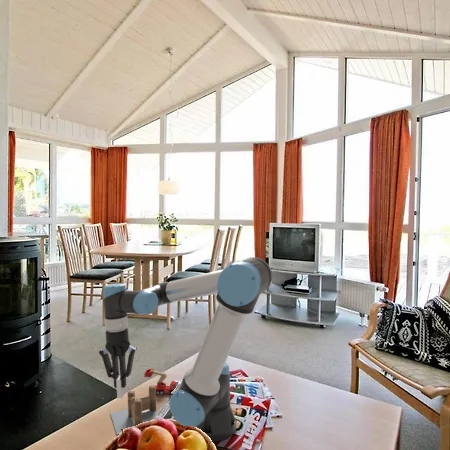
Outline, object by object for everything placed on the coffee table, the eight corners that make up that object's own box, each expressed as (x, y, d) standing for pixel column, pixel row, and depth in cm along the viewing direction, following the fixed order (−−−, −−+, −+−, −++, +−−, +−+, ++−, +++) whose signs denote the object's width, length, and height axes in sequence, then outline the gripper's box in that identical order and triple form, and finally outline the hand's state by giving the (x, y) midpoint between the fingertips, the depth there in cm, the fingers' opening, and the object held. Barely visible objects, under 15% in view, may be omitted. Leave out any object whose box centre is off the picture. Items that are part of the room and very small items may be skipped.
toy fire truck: (176, 394, 146) (175, 372, 146) (144, 394, 148) (144, 371, 148) (178, 391, 150) (177, 368, 150) (147, 390, 151) (146, 368, 151)
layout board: (162, 422, 127) (162, 421, 127) (117, 435, 120) (116, 434, 120) (151, 403, 140) (151, 402, 140) (110, 414, 133) (110, 413, 133)
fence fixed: (157, 411, 134) (156, 387, 134) (129, 418, 130) (128, 394, 129) (155, 407, 137) (154, 384, 136) (127, 415, 132) (126, 391, 132)
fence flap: (134, 411, 133) (133, 389, 133) (143, 425, 124) (142, 401, 124) (127, 414, 132) (126, 391, 132) (136, 428, 123) (135, 403, 123)
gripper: (138, 325, 125) (142, 390, 125) (103, 326, 126) (106, 391, 126) (131, 331, 117) (135, 401, 117) (93, 333, 118) (98, 402, 118)
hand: (120, 396), depth 122 cm, fingers closed
